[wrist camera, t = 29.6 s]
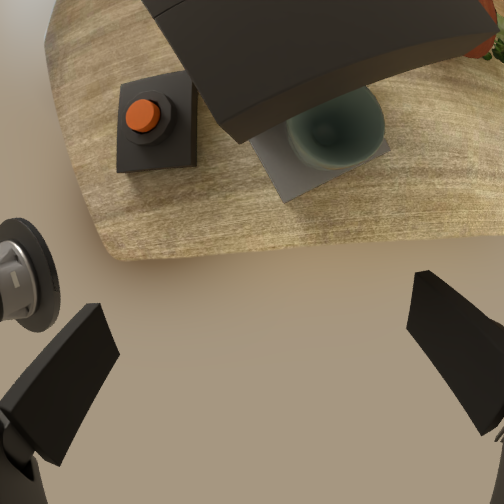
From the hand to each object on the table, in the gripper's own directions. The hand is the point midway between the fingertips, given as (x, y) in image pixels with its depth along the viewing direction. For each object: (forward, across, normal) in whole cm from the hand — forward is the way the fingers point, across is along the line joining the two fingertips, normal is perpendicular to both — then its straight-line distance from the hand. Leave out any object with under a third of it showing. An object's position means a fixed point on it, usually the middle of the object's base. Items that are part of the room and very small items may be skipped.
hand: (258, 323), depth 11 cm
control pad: (+25, -10, +12) cm, 30 cm away
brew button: (+22, -11, +13) cm, 27 cm away
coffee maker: (+23, +7, +10) cm, 26 cm away
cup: (+22, +8, +8) cm, 24 cm away
